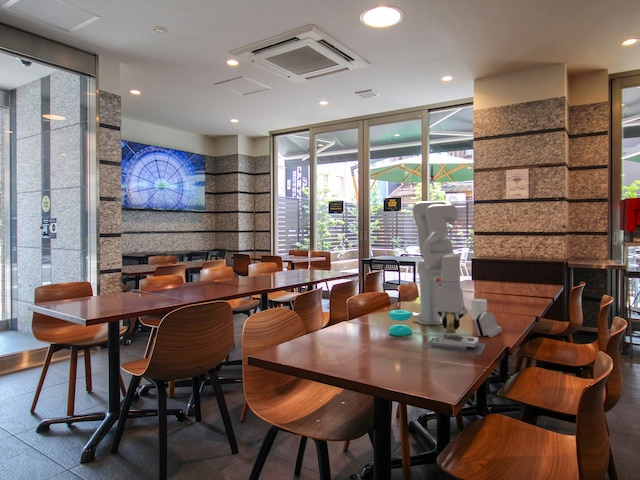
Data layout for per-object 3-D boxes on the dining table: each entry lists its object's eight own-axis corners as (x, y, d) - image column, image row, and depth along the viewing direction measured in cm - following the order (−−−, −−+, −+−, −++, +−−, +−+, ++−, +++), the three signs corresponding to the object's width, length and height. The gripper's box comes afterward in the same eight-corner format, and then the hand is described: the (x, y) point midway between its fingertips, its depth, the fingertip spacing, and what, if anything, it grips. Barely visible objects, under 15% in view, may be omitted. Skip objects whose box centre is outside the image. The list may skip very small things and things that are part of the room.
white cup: (488, 318, 207) (488, 299, 207) (485, 321, 201) (485, 301, 201) (472, 317, 212) (472, 298, 211) (468, 320, 205) (468, 300, 205)
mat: (422, 349, 156) (422, 347, 156) (432, 339, 170) (432, 338, 170) (480, 356, 146) (480, 354, 146) (486, 345, 160) (486, 343, 160)
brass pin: (444, 332, 169) (444, 308, 169) (447, 330, 173) (446, 307, 172) (454, 333, 167) (454, 309, 167) (456, 331, 171) (456, 307, 170)
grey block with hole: (431, 346, 158) (430, 337, 158) (436, 340, 166) (436, 332, 166) (474, 351, 150) (474, 341, 150) (478, 345, 158) (478, 336, 158)
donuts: (410, 314, 173) (386, 313, 177) (410, 337, 174) (387, 336, 177) (412, 309, 183) (390, 309, 186) (413, 332, 183) (391, 330, 186)
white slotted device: (490, 338, 170) (481, 314, 172) (479, 340, 172) (471, 317, 175) (502, 330, 182) (494, 308, 184) (492, 332, 185) (484, 311, 187)
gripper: (428, 284, 170) (428, 328, 171) (470, 287, 162) (470, 332, 162) (432, 282, 176) (432, 324, 177) (473, 284, 168) (473, 328, 169)
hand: (450, 327), depth 170 cm, fingers closed on brass pin, 4 cm apart
